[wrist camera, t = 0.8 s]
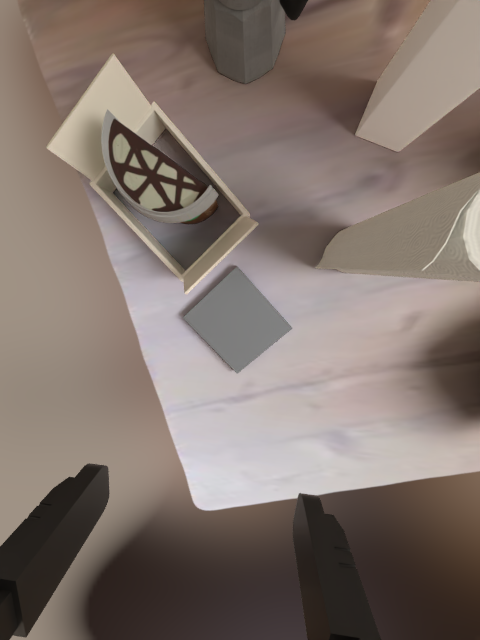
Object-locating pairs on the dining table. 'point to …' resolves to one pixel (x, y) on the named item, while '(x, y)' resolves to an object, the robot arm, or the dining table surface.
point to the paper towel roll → (416, 238)
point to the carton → (149, 122)
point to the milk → (426, 75)
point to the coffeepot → (247, 34)
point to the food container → (153, 178)
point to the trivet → (237, 321)
